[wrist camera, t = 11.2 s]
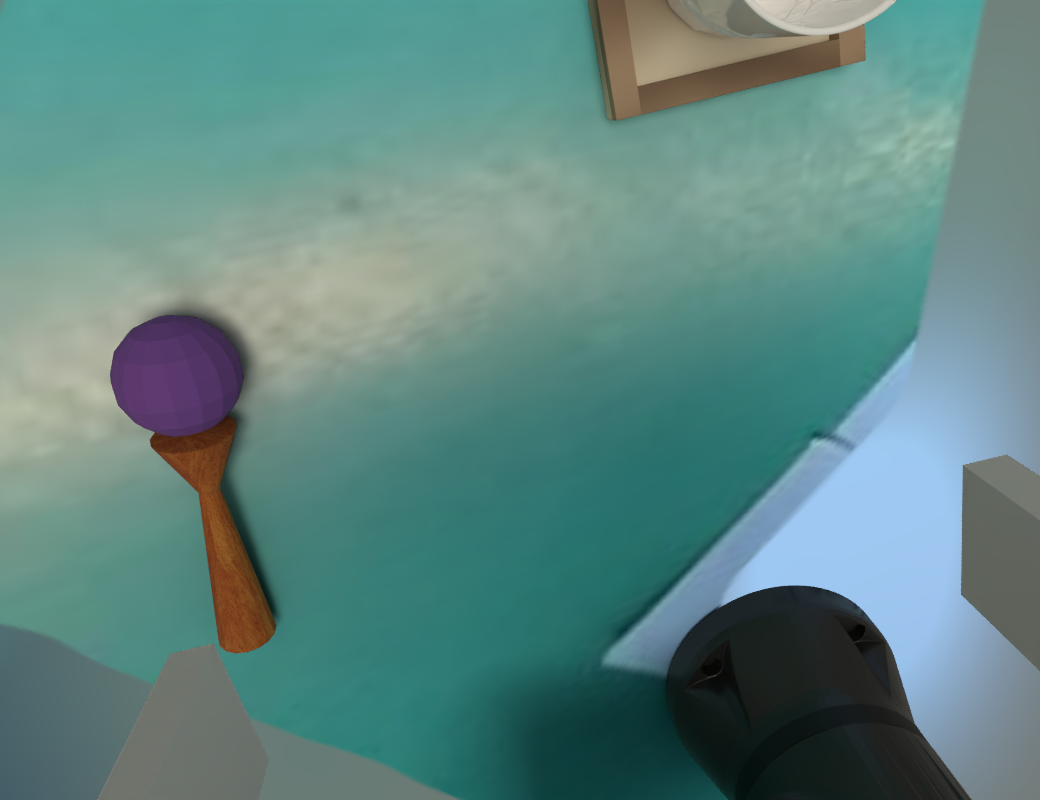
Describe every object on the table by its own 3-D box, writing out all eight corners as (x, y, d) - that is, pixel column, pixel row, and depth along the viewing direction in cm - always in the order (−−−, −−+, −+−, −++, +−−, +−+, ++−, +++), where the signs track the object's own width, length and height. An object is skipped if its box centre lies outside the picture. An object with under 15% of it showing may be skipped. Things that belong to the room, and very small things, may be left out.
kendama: (175, 668, 43) (66, 343, 34) (222, 596, 48) (138, 299, 39) (276, 673, 42) (192, 343, 33) (312, 600, 47) (248, 298, 38)
